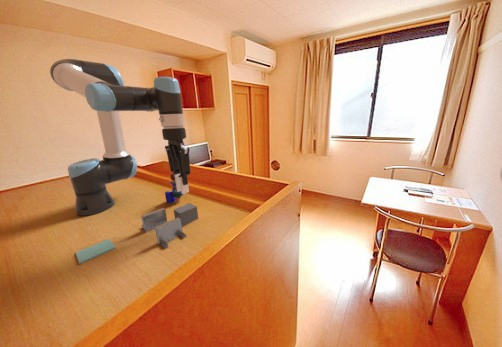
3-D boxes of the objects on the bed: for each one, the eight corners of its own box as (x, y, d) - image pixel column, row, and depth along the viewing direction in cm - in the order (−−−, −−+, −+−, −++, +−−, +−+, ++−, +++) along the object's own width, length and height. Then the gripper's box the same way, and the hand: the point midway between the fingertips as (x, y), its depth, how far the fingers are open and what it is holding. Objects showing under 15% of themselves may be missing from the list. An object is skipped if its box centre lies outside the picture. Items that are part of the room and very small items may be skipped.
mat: (75, 253, 61) (75, 252, 61) (109, 240, 67) (109, 238, 67) (79, 264, 56) (79, 262, 56) (115, 248, 63) (115, 247, 63)
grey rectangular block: (175, 223, 76) (173, 209, 75) (192, 216, 82) (190, 202, 80) (182, 227, 73) (179, 213, 71) (199, 219, 78) (197, 206, 76)
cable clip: (178, 194, 106) (176, 183, 104) (186, 194, 105) (184, 184, 103) (164, 204, 94) (162, 192, 93) (172, 204, 93) (170, 192, 92)
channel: (141, 227, 74) (138, 213, 72) (162, 219, 80) (159, 205, 78) (164, 249, 61) (160, 232, 60) (187, 237, 67) (184, 221, 65)
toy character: (191, 204, 93) (187, 173, 88) (182, 207, 89) (177, 176, 85) (176, 198, 100) (172, 169, 96) (168, 201, 97) (163, 172, 92)
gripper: (152, 128, 70) (164, 189, 76) (173, 128, 59) (184, 200, 66) (173, 126, 75) (181, 184, 81) (195, 126, 64) (203, 193, 71)
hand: (183, 191), depth 74 cm, fingers open, 3 cm apart
